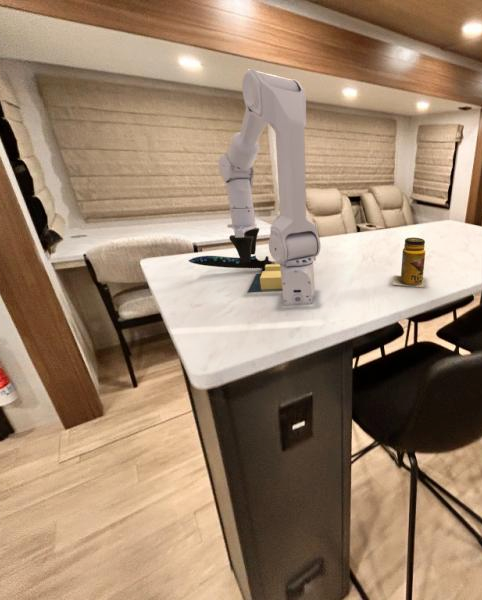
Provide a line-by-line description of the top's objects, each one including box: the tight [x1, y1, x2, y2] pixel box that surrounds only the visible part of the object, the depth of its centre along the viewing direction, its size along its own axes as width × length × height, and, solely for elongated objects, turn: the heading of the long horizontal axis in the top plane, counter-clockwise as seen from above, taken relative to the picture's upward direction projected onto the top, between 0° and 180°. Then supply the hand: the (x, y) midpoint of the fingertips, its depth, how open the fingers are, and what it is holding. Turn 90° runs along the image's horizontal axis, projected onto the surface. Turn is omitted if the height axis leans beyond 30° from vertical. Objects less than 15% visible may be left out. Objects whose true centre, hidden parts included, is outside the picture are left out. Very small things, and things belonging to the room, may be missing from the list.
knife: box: [188, 254, 279, 273], centre depth 87 cm, size 31×3×4 cm, turn 103°
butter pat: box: [265, 264, 281, 271], centre depth 83 cm, size 2×6×3 cm, turn 102°
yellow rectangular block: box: [260, 271, 282, 290], centre depth 76 cm, size 5×6×3 cm
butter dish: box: [246, 272, 283, 294], centre depth 80 cm, size 14×12×1 cm
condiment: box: [392, 237, 426, 288], centre depth 83 cm, size 7×8×12 cm
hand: (248, 257), depth 86 cm, fingers open, 7 cm apart
